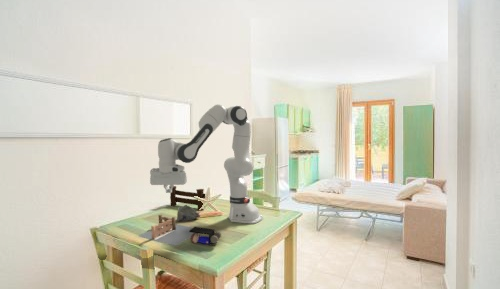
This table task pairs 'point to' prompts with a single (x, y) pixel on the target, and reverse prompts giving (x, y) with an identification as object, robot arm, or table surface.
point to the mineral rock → (186, 213)
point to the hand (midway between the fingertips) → (169, 192)
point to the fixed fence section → (166, 220)
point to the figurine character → (204, 239)
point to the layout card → (171, 235)
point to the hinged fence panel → (161, 230)
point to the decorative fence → (185, 200)
